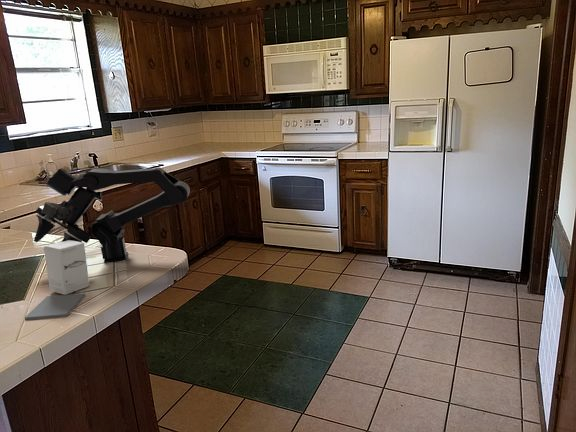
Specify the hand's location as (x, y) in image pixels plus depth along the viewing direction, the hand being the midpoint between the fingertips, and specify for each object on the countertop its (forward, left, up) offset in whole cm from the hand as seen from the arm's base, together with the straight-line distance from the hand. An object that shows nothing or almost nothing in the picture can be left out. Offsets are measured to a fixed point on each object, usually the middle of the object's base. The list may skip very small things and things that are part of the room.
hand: (45, 248), depth 130 cm
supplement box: (-9, +15, -8) cm, 19 cm away
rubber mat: (-8, +25, -8) cm, 27 cm away
